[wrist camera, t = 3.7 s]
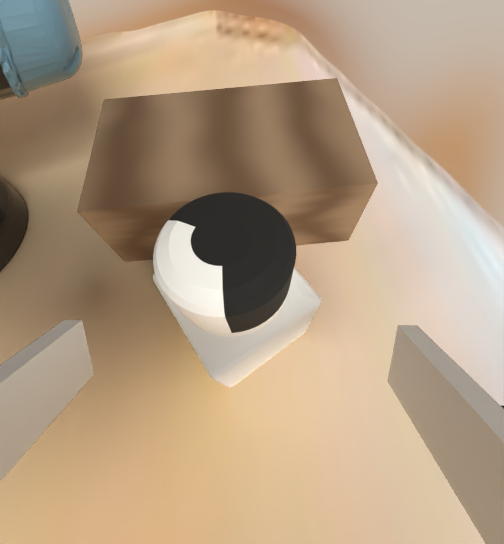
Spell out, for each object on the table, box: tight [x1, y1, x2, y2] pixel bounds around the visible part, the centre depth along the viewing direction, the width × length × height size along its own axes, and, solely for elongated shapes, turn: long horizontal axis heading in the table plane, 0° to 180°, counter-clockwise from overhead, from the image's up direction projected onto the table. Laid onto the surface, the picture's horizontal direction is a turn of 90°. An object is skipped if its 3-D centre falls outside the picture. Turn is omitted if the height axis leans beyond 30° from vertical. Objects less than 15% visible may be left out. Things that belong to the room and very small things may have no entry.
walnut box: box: [77, 78, 378, 262], centre depth 24 cm, size 20×12×7 cm, turn 95°
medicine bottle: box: [152, 192, 321, 388], centre depth 16 cm, size 7×7×12 cm
